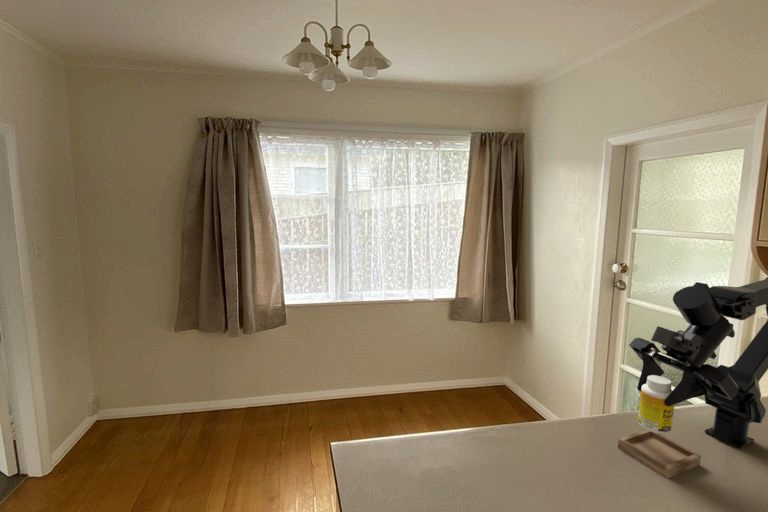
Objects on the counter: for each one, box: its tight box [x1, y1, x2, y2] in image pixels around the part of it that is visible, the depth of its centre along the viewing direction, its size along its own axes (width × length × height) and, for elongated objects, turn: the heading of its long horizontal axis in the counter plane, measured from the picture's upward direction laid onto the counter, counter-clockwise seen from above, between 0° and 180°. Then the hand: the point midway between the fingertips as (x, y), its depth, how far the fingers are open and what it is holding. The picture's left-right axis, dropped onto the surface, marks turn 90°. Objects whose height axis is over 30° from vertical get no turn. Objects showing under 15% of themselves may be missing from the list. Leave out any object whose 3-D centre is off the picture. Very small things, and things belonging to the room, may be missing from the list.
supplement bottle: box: [637, 375, 675, 435], centre depth 78 cm, size 6×6×10 cm
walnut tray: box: [617, 429, 702, 479], centre depth 79 cm, size 10×10×2 cm
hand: (651, 397), depth 77 cm, fingers closed on supplement bottle, 5 cm apart
